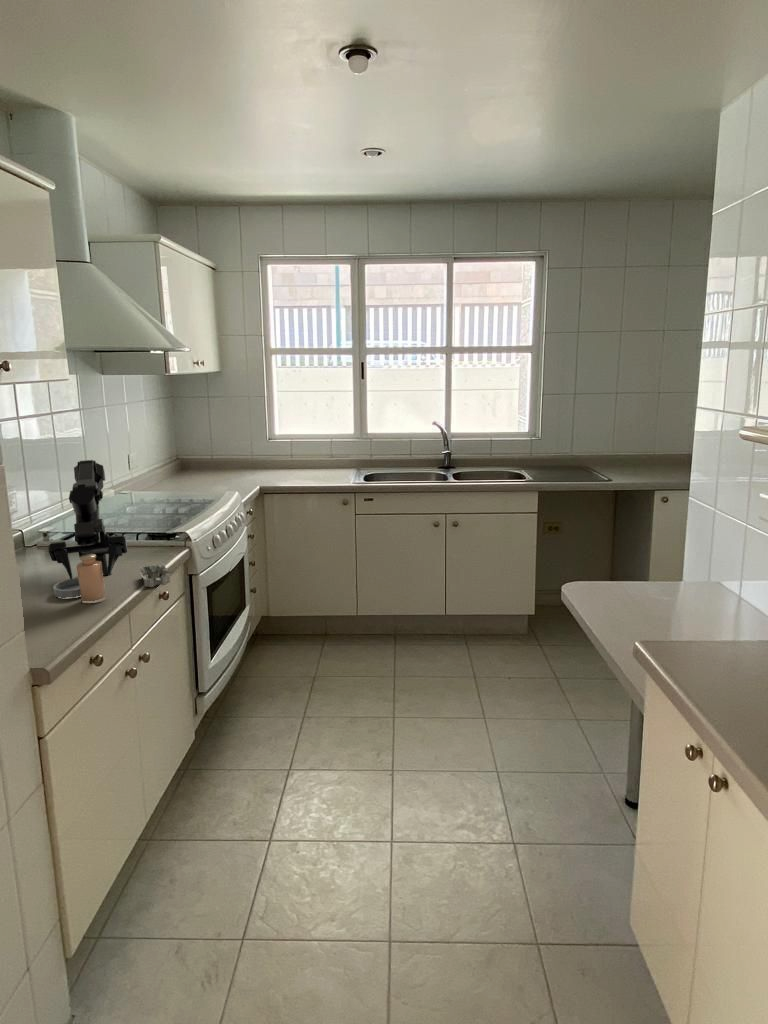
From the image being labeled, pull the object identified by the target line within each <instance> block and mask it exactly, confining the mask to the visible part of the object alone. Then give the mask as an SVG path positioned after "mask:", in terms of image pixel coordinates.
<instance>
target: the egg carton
mask: <svg viewBox="0 0 768 1024" xmlns="http://www.w3.org/2000/svg"><path fill="white" fill-rule="evenodd" d="M139 569H140V575H141V579H142V578H143V579H142V581H144V582H143V584H144V586H145V587H149V588H153V587H155V586H158V585H159V586H160V585H162V586H165V585H166V586H167V584H169V583H171V577H170V571H169V568H168V567H166V566H165V565H163V564H162V565H161V566H159V565H158V564H156V565H147V566H143V565H140V568H139ZM147 575H148V576H147ZM160 575H161V576H160Z"/></svg>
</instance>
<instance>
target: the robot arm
mask: <svg viewBox="0 0 768 1024" xmlns="http://www.w3.org/2000/svg"><path fill="white" fill-rule="evenodd" d="M73 472H74V473H73V474H74V480H75V483H73V484H72V488H71V489H72V490H70V491H69V495H68V496H69V497H68V499H69V503H70V504H71V506H72V510H73V513H74V514H75V523H74V526H73V527H74V541H75V543H76V544H72V545H67V544H66V541H65V540H61V541H53V542H50V543H49V544H48V548H47V549H48V554H49V557H50V559H51V561H52V562H57V564H62V566H63V567H64V569H65V570H66V572H67V574H68V576H69V577H68V578H69V579H72V578H73V572H72V567H71V566H72V565H71V561H70V557H69V554H73V553H74V554H75V553H78V557H79V558H80V556H82V555H85V554H96V558H95V560H97V561H101V562H102V570H103V575H104V576H107V575H106V574H109V575H108V576H110V575H112V574H111V573H112V571H113V569H114V566H115V564H116V562H117V560H118V558H119V557H122V556H123V554H127V553H128V544H127V538H126V536H125V535H124V534H119V535H109V533H107V532H106V528H105V525H104V522H103V519H102V518H101V516H100V501H102V500H103V498H104V492H103V491H102V490H103V489H104V481H106V473H105V469H104V465H103V464H99V463H98V462H96V460H93V459H88V460H87V459H86V460H79V461H77V465H76V466H74V467H73ZM107 555H108V557H107ZM107 558H108V559H107Z"/></svg>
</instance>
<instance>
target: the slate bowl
mask: <svg viewBox="0 0 768 1024" xmlns="http://www.w3.org/2000/svg"><path fill="white" fill-rule="evenodd" d="M52 588H53V594H55V595H54V597H55V596H56V597H61V598H66V597H76V596H80V595H81V594H80V587H79V580H78V576H77V577H72V579H70V578H68V579H64V580H60V581H58V582H56V583H55V584H54V585H53V586H52ZM56 597H55V598H56Z"/></svg>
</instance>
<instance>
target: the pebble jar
mask: <svg viewBox="0 0 768 1024" xmlns="http://www.w3.org/2000/svg"><path fill="white" fill-rule="evenodd" d="M79 558H80V560H81V562H80V563H77V564H76V571H77V572H76V573H77V577H78V580H79V587H80V594H81V598H80V600H82V601H95V600H99V599H102V598H104V597H105V596H106V597H107V594H106V586H105V580H104V576H103V570H102V562H101V561H97V560H95V558H96V554H85V555H82V556H80V557H79ZM82 601H81V602H82Z"/></svg>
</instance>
